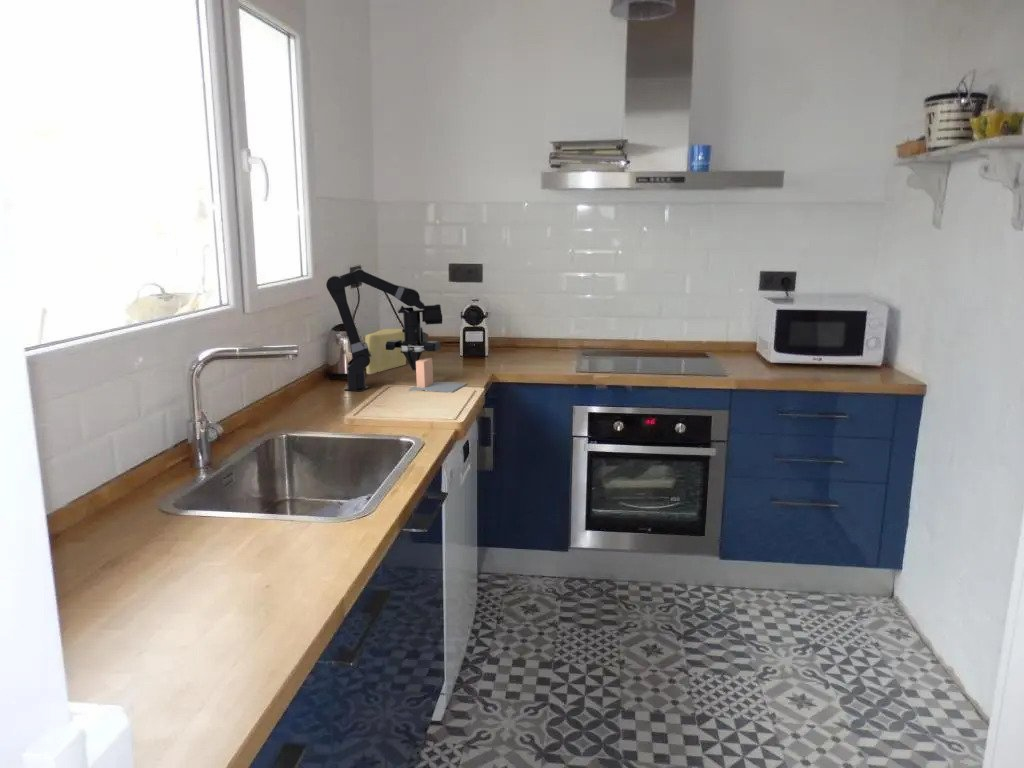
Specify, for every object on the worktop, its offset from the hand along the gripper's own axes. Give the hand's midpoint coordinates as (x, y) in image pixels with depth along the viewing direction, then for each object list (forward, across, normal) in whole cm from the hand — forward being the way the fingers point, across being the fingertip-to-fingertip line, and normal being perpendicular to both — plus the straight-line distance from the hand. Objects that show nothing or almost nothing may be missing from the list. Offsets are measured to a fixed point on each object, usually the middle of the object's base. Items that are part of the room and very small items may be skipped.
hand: (414, 370), depth 262 cm
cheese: (+6, +26, -26) cm, 37 cm away
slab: (+5, -4, 0) cm, 7 cm away
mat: (+6, -9, 0) cm, 11 cm away
